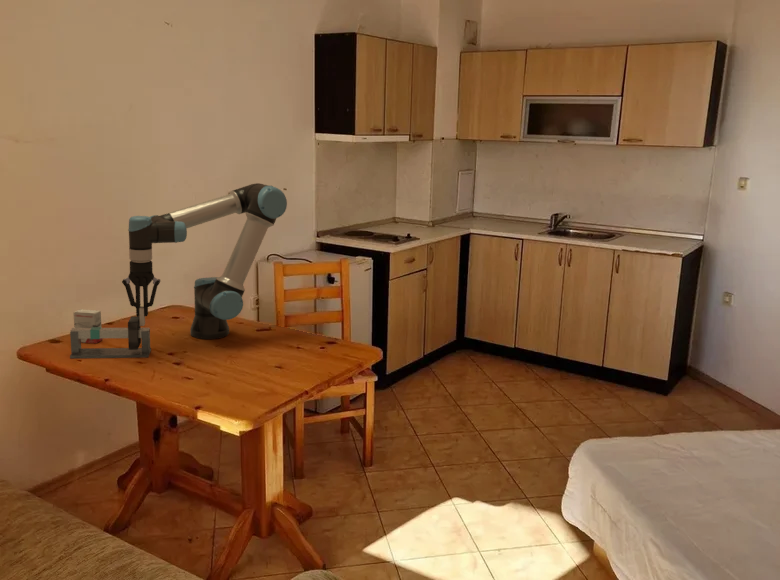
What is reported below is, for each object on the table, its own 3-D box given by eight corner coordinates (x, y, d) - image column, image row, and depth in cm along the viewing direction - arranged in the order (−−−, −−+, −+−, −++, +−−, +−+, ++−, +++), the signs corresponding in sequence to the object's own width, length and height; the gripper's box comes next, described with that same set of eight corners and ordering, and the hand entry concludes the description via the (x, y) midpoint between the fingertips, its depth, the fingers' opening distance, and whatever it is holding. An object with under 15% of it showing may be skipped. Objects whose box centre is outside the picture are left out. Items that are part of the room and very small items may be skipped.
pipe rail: (151, 350, 252) (150, 325, 250) (148, 357, 244) (147, 331, 242) (75, 351, 247) (74, 325, 244) (70, 358, 239) (68, 331, 237)
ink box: (103, 340, 260) (101, 310, 258) (96, 343, 256) (95, 313, 253) (81, 338, 261) (80, 308, 258) (74, 341, 256) (72, 311, 254)
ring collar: (140, 342, 251) (140, 316, 248) (137, 349, 243) (136, 322, 241) (132, 342, 250) (131, 316, 248) (128, 349, 242) (127, 322, 240)
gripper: (161, 258, 245) (162, 322, 250) (123, 258, 242) (125, 321, 247) (159, 262, 238) (160, 327, 243) (119, 262, 235) (121, 327, 240)
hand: (142, 324), depth 245 cm, fingers closed
